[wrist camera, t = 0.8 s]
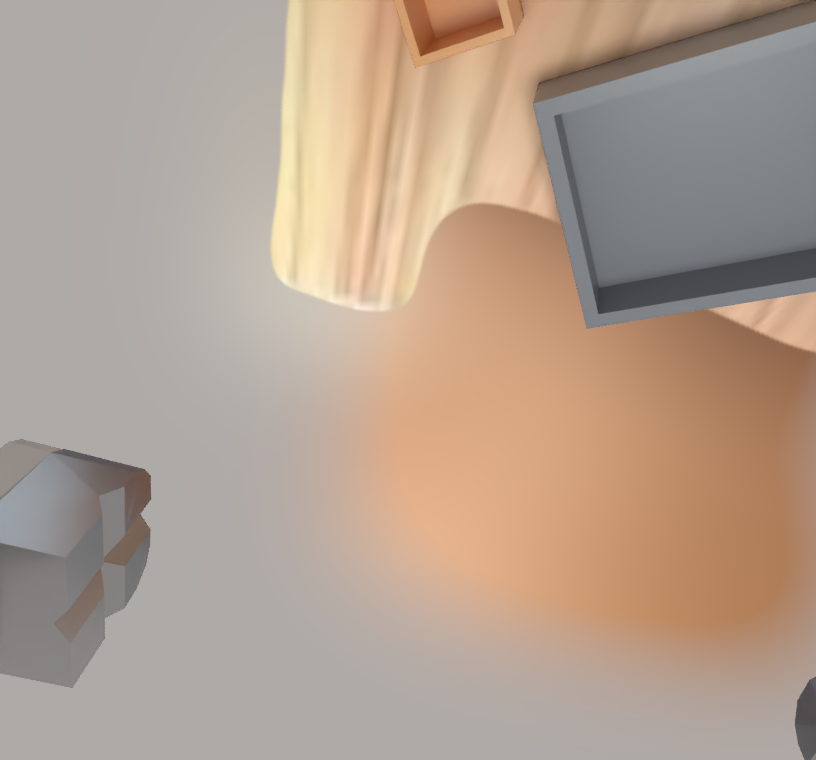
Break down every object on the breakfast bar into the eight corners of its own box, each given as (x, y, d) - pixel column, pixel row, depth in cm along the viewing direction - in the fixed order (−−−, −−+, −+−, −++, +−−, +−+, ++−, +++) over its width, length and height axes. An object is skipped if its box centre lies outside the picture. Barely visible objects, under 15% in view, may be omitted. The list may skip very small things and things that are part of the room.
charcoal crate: (911, -30, 37) (942, -16, 33) (900, 240, 45) (924, 273, 42) (539, 83, 44) (533, 103, 41) (588, 296, 53) (586, 328, 49)
